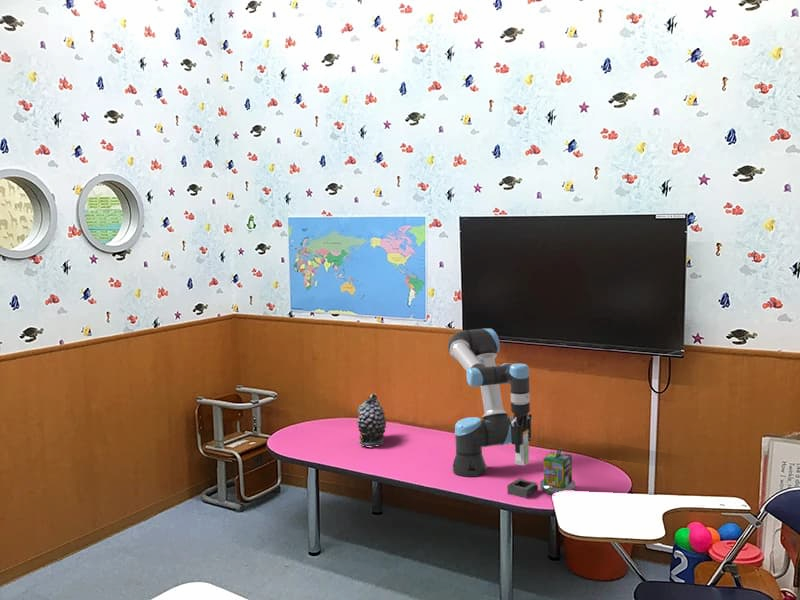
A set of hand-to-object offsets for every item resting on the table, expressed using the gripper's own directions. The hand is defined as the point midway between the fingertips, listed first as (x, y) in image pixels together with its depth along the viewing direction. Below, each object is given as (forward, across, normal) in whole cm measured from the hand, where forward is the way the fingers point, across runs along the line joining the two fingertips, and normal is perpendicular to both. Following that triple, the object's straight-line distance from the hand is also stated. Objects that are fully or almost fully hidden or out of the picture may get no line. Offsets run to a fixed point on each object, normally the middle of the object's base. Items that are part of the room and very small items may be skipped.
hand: (521, 458), depth 283 cm
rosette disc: (+15, +11, -10) cm, 21 cm away
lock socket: (+15, 0, 0) cm, 15 cm away
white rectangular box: (+2, 0, 0) cm, 2 cm away
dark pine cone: (+14, +13, +96) cm, 98 cm away
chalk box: (+12, +11, -10) cm, 19 cm away
